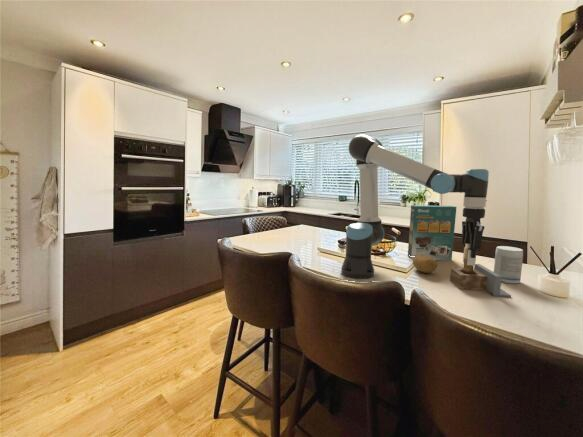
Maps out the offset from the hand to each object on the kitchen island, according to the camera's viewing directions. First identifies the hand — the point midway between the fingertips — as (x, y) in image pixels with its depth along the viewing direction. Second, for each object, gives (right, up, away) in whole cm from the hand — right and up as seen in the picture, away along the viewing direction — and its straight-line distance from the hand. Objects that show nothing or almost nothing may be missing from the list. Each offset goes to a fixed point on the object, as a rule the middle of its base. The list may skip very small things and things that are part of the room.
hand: (468, 263), depth 114 cm
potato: (-10, -7, +19) cm, 23 cm away
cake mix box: (+5, -4, +43) cm, 43 cm away
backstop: (+8, -10, -2) cm, 13 cm away
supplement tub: (+22, -9, +8) cm, 25 cm away
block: (0, -10, +1) cm, 10 cm away
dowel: (0, -4, 0) cm, 4 cm away
